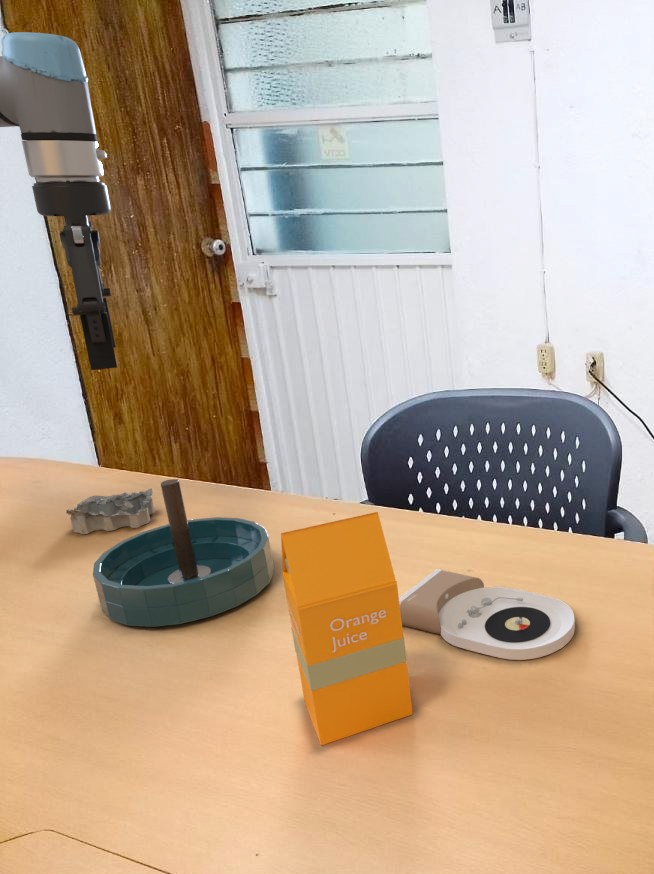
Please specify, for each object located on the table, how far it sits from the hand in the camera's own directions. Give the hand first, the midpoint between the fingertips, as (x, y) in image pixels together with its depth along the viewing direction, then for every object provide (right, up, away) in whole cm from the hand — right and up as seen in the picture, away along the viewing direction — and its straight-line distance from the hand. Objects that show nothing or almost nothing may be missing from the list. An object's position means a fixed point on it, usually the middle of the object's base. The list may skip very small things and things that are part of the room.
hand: (104, 357), depth 104 cm
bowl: (+11, -29, +1) cm, 31 cm away
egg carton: (-11, -23, +21) cm, 33 cm away
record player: (+50, -32, -9) cm, 60 cm away
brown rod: (+11, -29, 0) cm, 31 cm away
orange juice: (+39, -37, -23) cm, 58 cm away
